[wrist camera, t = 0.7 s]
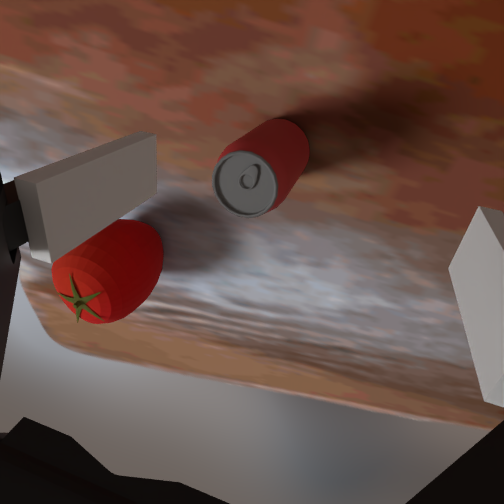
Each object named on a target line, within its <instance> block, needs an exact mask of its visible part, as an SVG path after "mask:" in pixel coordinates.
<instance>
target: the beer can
mask: <svg viewBox="0 0 504 504" xmlns="http://www.w3.org/2000/svg"><path fill="white" fill-rule="evenodd" d="M309 153H310V149H309V144H308V140H307V138H306V136H305V134H304V132H303V131H302V130H301V129H300V128H299V127H298V126H297V125H296V124H294V123H292V122H290V121H288V120H285V119H272V120H268V121H265V122H264V123H262V124H261V125H259V126H258V127H256V128H255V129H253V130H252V131H250V132H248V133H247V134H245V135H244V136H242V137H241V138H239V139H238V140H236V141H235V142H233V143H231V144H230V145H228V146H227V147H226V148H225V150H224V151H223V152H222V154H221V155H220V157H219V159H218V161H217V164H216V166H215V168H214V171H213V174H212V187H213V190H214V193H215V196H216V198H217V199H218V201H219V202H220V204H221V205H222V206H223V207H224V208H225V209H226V210H227V211H229V212H230V213H232V214H234V215H236V216H239V217H245V218H252V217H258V216H260V215H262V214H265V213H267V212H269V211H271V210H273V209H275V208H277V207H278V206H279V205H280V204H281V203H282V202H283V201H284V200H285V198H286V197H287V195H288V193H289V192H290V190H291V189H292V187H293V186H294V184H295V183H296V181H297V180H298V178H299V177H300V175H301V174H302V172H303V171H304V169H305V167H306V165H307V163H308V160H309Z"/></svg>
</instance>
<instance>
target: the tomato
mask: <svg viewBox="0 0 504 504" xmlns="http://www.w3.org/2000/svg"><path fill="white" fill-rule="evenodd" d="M162 265H163V245H162V241H161V238H160V236H159V234H158V233H157V231H156V230H155V229H154V228H153V227H151V226H150V225H148V224H145V223H143V222H140V221H136V220H127V219H118V220H116V221H115V222H113V223H112V224H110V225H109V226H107V227H106V228H104V229H103V230H101V231H100V232H98V233H97V234H95V235H94V236H92V237H91V238H89V239H88V240H86V241H85V242H83V243H82V244H80V245H79V246H77V247H76V248H74V249H73V250H71V251H70V252H68V253H67V254H65V255H64V256H62V257H61V258H59V259H58V260H56V261H55V262H54V263H53V266H52V277H53V283H54V285H55V288H56V290H57V293H58V294H59V296H60V297H61V299H62V300H63V302H64V303H65V304H66V305H67V306H68V308H69V309H70V310H71V311H72V312H73V313H75V314H76V316H77V323H78V321H79V317H80V318H82V319H83V320H85V321H87V322H90V323H94V324H101V323H111V322H114V321H117V320H119V319H122V318H124V317H126V316H127V315H129V314H130V313H132V312H133V311H134V310H135V309H136V308H137V307H139V306H140V305H141V304H142V303H143V302H144V301H145V300H146V299H147V297H148V296H149V295H150V294H151V292H152V290H153V289H154V287H155V285H156V284H157V282H158V279H159V276H160V273H161V270H162Z"/></svg>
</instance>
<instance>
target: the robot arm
mask: <svg viewBox="0 0 504 504" xmlns="http://www.w3.org/2000/svg"><path fill="white" fill-rule="evenodd" d="M155 194H157V160H156V134H152V133H147V132H143V131H139V132H136V133H134V134H131V135H128V136H125V137H123V138H120V139H117V140H115V141H112V142H109V143H106V144H104V145H101V146H98V147H96V148H93V149H90V150H87V151H85V152H82V153H79V154H77V155H74V156H71V157H69V158H66V159H63V160H60V161H58V162H55V163H52V164H50V165H47V166H44V167H41V168H39V169H36V170H33V171H31V172H28V173H25V174H22V175H20V176H17V177H14V180H13V181H10V182H8V183H5V184H3V181H2V177H1V173H0V377H1V372H2V366H3V360H4V354H5V348H6V343H7V337H8V331H9V325H10V319H11V313H12V308H13V302H14V296H15V290H16V284H17V279H18V273H19V267H20V261H21V254H20V250H19V246H21V245H23V244H24V243H26V242H29V247H30V251H31V255H32V257H33V258H36V259H39V260H42V261H45V262H48V263H53V262H55V261H56V260H58V259H59V258H61V257H62V256H64V255H65V254H67V253H68V252H70V251H71V250H73V249H74V248H76V247H77V246H79V245H80V244H82V243H83V242H85V241H86V240H88V239H89V238H91V237H92V236H94V235H95V234H97V233H98V232H100V231H101V230H103V229H104V228H106V227H107V226H109V225H110V224H112V223H113V222H115V221H116V220H118V219H119V218H121V217H122V216H124V215H125V214H127V213H128V212H130V211H131V210H133V209H134V208H136V207H137V206H139V205H140V204H142V203H143V202H145V201H146V200H148V199H149V198H151V197H152V196H154V195H155ZM449 272H450V276H451V280H452V283H453V287H454V291H455V294H456V298H457V302H458V306H459V309H460V313H461V317H462V320H463V324H464V328H465V332H466V335H467V339H468V343H469V346H470V350H471V354H472V358H473V361H474V365H475V369H476V372H477V376H478V380H479V384H480V387H481V391H482V395H483V398H484V401H485V402H489V403H492V404H495V405H498V406H501V407H504V214H503V212H502V211H499V210H494V209H490V208H485V207H481V206H479V207H478V209H477V211H476V213H475V215H474V217H473V219H472V221H471V223H470V225H469V227H468V229H467V231H466V233H465V235H464V237H463V239H462V242H461V244H460V246H459V248H458V250H457V252H456V254H455V256H454V258H453V260H452V262H451V264H450V266H449ZM0 504H229V503H227V502H225V501H222V500H220V499H217V498H215V497H213V496H210V495H208V494H206V493H203V492H201V491H199V490H196V489H194V488H191V487H189V486H187V485H184V484H182V483H179V482H171V481H163V480H154V479H145V478H136V477H127V476H119V475H115V474H113V473H111V472H110V471H109V470H107V469H106V468H105V467H104V466H103V465H102V464H101V463H100V462H99V461H97V460H96V459H95V458H94V457H93V456H92V455H91V454H89V452H87V451H86V450H85V449H84V448H83V447H82V446H81V445H80V444H78V442H76V441H75V440H74V439H73V438H72V437H70V436H68V435H66V434H64V433H61V432H59V431H56V430H54V429H52V428H49V427H47V426H44V425H42V424H40V423H38V422H35V421H33V420H30V419H28V418H26V417H23V418H22V419H21V420H20V422H18V424H17V425H16V426H15V427H14V428H13V429H12V430H11V431H10V432H9V433H0ZM406 504H504V420H503V421H502V422H501V423H500V424H499V425H498V426H496V427H495V428H494V429H493V430H492V431H491V432H489V433H488V434H487V435H486V436H485V437H484V438H482V439H481V440H480V441H479V442H478V443H476V444H475V445H474V446H473V447H472V448H471V449H469V450H468V451H467V452H466V453H465V454H463V455H462V456H461V457H460V458H459V459H458V460H456V461H455V462H454V463H453V464H452V465H451V466H449V467H448V468H447V469H446V470H445V471H443V472H442V473H441V474H440V475H439V476H438V477H436V478H435V479H434V480H433V481H432V482H430V483H429V484H428V485H427V486H426V487H425V488H423V489H422V490H421V491H420V492H419V493H418V494H416V495H415V496H414V497H413V498H412V499H410V500H409V501H408V502H407V503H406Z"/></svg>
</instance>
